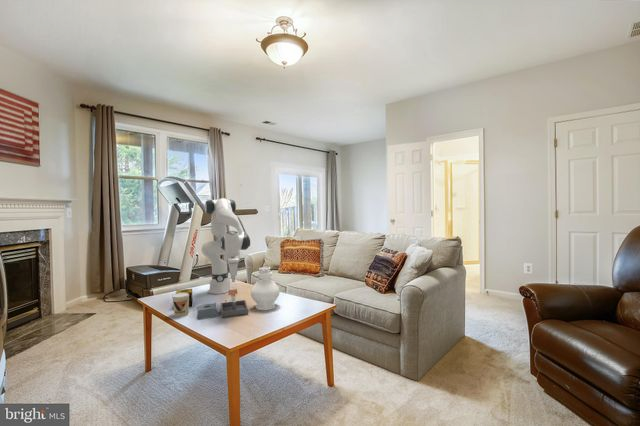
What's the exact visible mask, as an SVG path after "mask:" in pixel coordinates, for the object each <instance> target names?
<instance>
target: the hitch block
mask: <svg viewBox="0 0 640 426" xmlns="http://www.w3.org/2000/svg"><path fill="white" fill-rule="evenodd" d="M216 317H217V303H216V302H213V303H206V304H199V305H198V308H197V319H198V320H201V319H209V318H216Z"/></svg>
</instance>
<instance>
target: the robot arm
mask: <svg viewBox="0 0 640 426" xmlns="http://www.w3.org/2000/svg"><path fill="white" fill-rule="evenodd" d="M236 210H237V204H236V202H235V200H233V199H227V198H224V197H221V198H218V199H208V200H206V201H205V203H204V211H205V213H206V214H208V215H211V217H210V218H211V219H210V225H211V226H210V230H211V231H210V233H211V234H212V235H213V236H216V237H217V240H214V241H213V240H211V241H207V242H205V243H203V244H202V246H201V253H202V254H203V255H204V256H205V257H206V258H208V260H209V261H210V265H211V280H210V281H209V289H208V290H207V291H206V292H207V294H216V295H217V294H219V295H220V294H225V293H229V291H228V290H234V288H233V287H232V286H231V283H236V277H237V275H238V266H239V262H240V260H241V256H240V255H241V251H246V250H247V249H249V247H251V239H250V236H249V234H248V233H247V231H246V229H245V226H244V224H243V221H241V218H240V217H239V216H237V215H236V214H235V212H236ZM227 226H230V227H233V228H235V229H236V230H229V231H228V228H227ZM240 250H241V251H240ZM222 255H224V259H223V258H221V256H222ZM228 270H229V271H228ZM229 275H230V278H231V279H230V278H229Z"/></svg>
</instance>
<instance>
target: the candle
mask: <svg viewBox="0 0 640 426" xmlns="http://www.w3.org/2000/svg"><path fill="white" fill-rule="evenodd" d="M179 293H188V294H189V308H192V307H193V304H194V302H193V301H194V300H193V288H184V289H183V288H182V289H176V292H175V294H179ZM175 294H174V295H175Z"/></svg>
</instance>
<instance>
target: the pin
mask: <svg viewBox="0 0 640 426" xmlns="http://www.w3.org/2000/svg"><path fill="white" fill-rule="evenodd" d="M228 291H229V292H228V296H230V297H231V302H232V310H236V302H235V301H236V295H238V289H237V288H236V289H234V288H233V290H228Z"/></svg>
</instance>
